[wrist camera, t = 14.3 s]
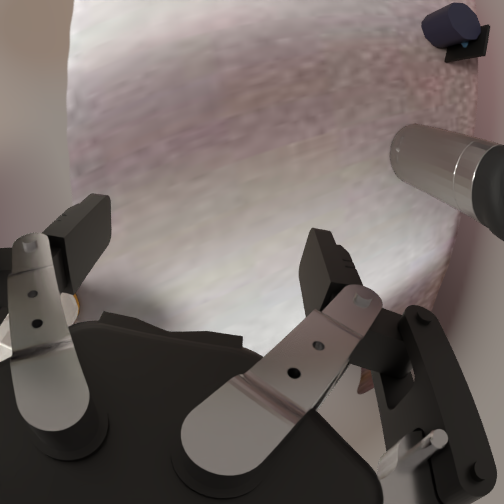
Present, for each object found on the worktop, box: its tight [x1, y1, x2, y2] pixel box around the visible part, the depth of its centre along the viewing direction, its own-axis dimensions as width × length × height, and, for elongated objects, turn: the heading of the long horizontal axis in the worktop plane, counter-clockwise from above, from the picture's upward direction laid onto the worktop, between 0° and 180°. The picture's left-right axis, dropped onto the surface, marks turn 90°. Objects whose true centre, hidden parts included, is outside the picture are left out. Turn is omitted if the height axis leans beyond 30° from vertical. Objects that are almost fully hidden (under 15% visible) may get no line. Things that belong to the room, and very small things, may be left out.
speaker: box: [421, 3, 490, 63], centre depth 29 cm, size 8×6×10 cm
